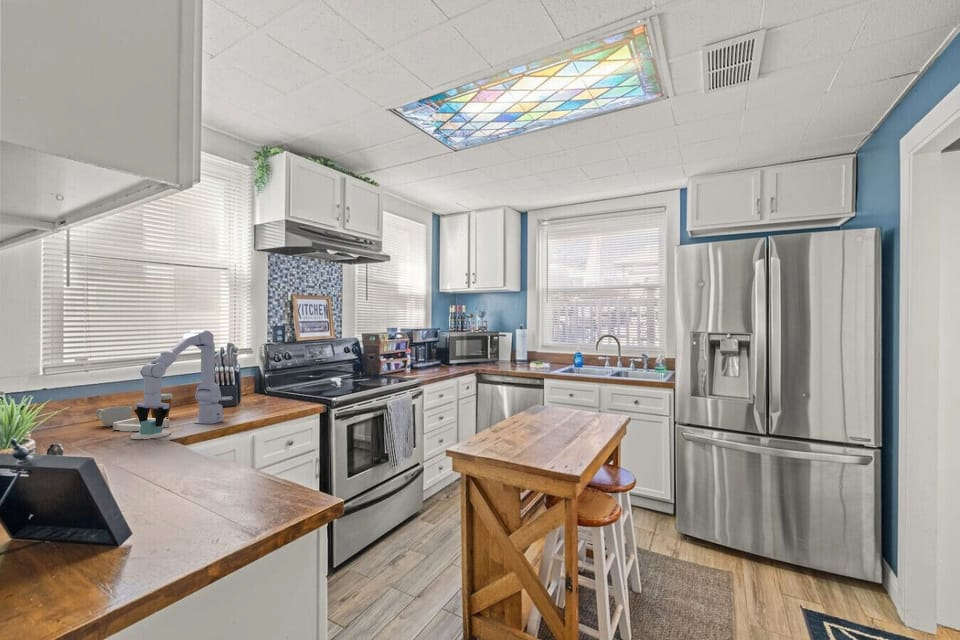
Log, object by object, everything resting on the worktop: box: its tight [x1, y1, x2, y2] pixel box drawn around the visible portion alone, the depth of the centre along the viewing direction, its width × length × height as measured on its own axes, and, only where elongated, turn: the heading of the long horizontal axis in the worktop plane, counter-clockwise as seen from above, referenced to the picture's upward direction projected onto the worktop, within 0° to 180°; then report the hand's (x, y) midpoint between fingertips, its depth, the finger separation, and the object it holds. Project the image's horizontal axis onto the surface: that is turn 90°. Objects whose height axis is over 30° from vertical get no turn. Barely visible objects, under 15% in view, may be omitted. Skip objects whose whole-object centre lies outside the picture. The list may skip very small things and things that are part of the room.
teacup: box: [95, 405, 133, 428], centre depth 192 cm, size 14×11×8 cm
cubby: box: [112, 417, 171, 433], centre depth 186 cm, size 17×11×4 cm, turn 81°
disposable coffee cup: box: [149, 393, 174, 418], centre depth 207 cm, size 10×10×12 cm
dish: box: [130, 429, 172, 439], centre depth 173 cm, size 13×13×1 cm
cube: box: [140, 419, 163, 434], centre depth 174 cm, size 5×5×5 cm
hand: (151, 425), depth 174 cm, fingers open, 7 cm apart
